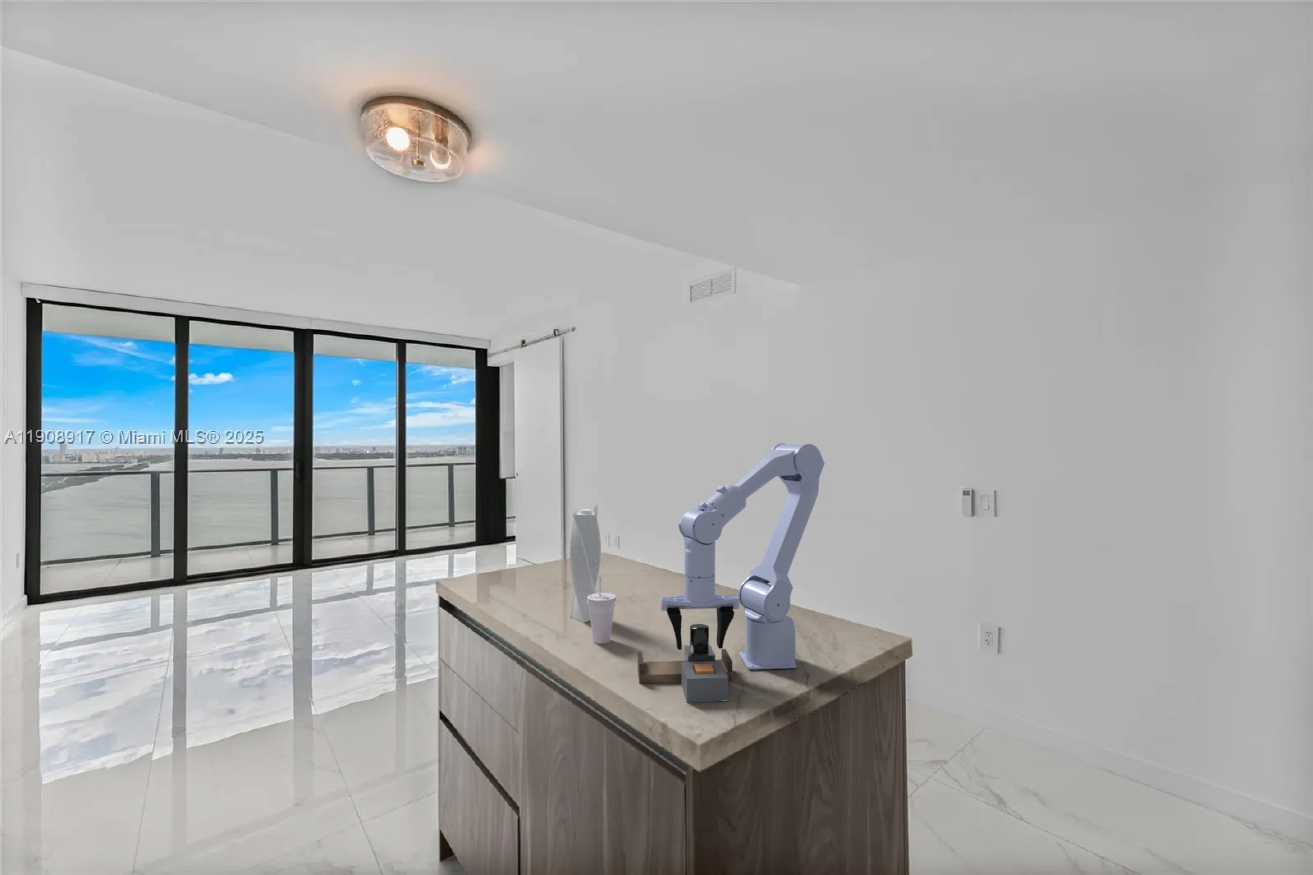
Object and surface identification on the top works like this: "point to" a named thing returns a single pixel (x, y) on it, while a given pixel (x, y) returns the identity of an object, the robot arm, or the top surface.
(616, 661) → the top surface
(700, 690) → the block
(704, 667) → the button
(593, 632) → the smoothie
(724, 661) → the rail
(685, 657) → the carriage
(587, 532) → the skyscraper
